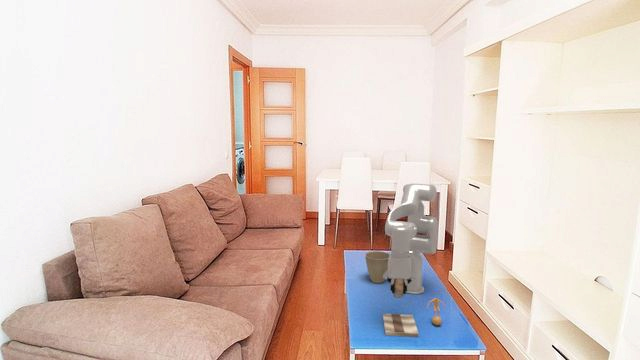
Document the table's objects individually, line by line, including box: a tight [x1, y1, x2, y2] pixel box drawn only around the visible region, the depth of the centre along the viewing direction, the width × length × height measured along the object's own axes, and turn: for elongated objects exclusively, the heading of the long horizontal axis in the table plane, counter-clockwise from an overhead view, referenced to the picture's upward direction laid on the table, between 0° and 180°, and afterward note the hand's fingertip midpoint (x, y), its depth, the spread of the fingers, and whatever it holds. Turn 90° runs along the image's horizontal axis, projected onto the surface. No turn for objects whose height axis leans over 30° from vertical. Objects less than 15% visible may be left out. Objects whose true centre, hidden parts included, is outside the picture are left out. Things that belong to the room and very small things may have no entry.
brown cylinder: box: [393, 279, 405, 299], centre depth 161 cm, size 4×4×9 cm
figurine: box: [427, 297, 446, 326], centre depth 165 cm, size 8×6×12 cm
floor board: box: [382, 313, 420, 338], centre depth 164 cm, size 16×14×2 cm
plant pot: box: [364, 250, 391, 284], centre depth 213 cm, size 15×15×16 cm
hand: (398, 292), depth 161 cm, fingers closed on brown cylinder, 4 cm apart
